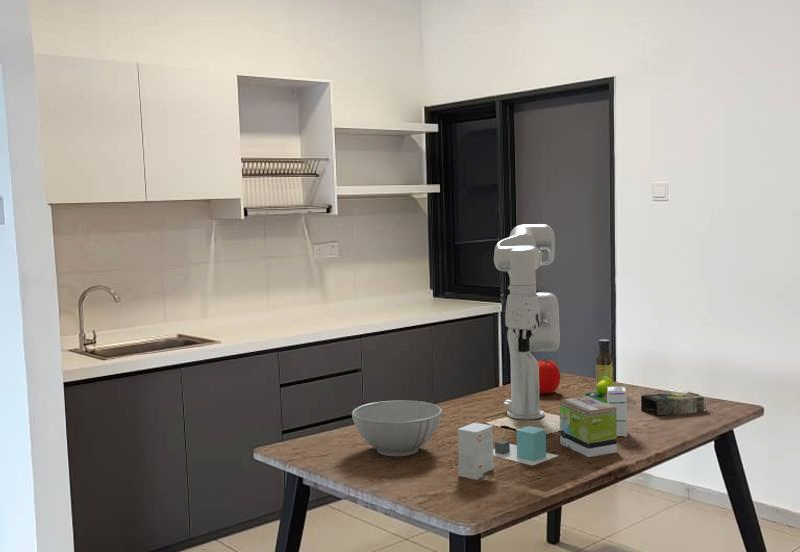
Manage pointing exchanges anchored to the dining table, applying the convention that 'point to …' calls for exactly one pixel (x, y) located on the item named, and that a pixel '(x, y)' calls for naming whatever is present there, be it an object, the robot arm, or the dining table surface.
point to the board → (515, 453)
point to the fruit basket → (601, 390)
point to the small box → (475, 450)
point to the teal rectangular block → (531, 443)
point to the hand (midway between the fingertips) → (523, 351)
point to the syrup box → (619, 408)
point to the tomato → (548, 376)
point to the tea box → (588, 426)
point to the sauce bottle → (604, 362)
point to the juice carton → (673, 403)
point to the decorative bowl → (397, 425)
